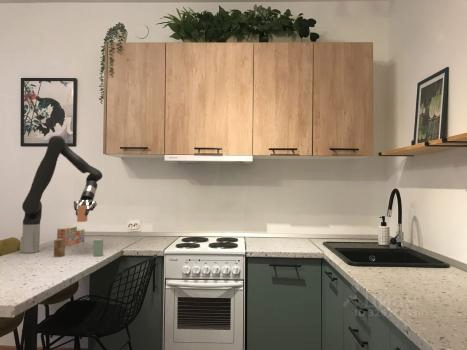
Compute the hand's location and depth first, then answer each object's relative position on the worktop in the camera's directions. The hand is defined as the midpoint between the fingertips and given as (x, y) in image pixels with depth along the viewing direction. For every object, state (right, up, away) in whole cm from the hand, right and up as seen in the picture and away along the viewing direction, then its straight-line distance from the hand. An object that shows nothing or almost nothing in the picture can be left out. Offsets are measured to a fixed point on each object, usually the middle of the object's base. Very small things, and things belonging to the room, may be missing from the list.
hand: (81, 214), depth 192 cm
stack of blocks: (-24, -25, +35) cm, 49 cm away
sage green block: (+11, -24, -2) cm, 27 cm away
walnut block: (-11, -24, -4) cm, 27 cm away
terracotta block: (0, -4, +2) cm, 5 cm away
